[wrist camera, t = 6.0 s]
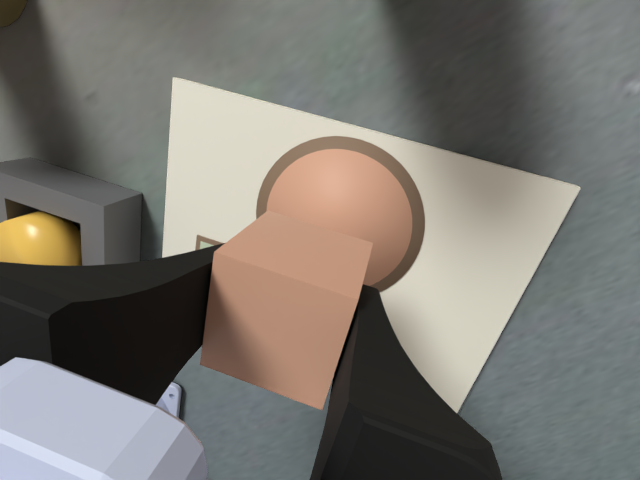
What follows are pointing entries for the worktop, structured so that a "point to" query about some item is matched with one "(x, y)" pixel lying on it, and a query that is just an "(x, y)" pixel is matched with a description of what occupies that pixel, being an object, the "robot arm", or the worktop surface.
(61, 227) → the button
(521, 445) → the worktop surface
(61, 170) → the button housing
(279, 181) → the picture board
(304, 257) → the terracotta crayon block
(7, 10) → the pepper mill
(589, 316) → the worktop surface
